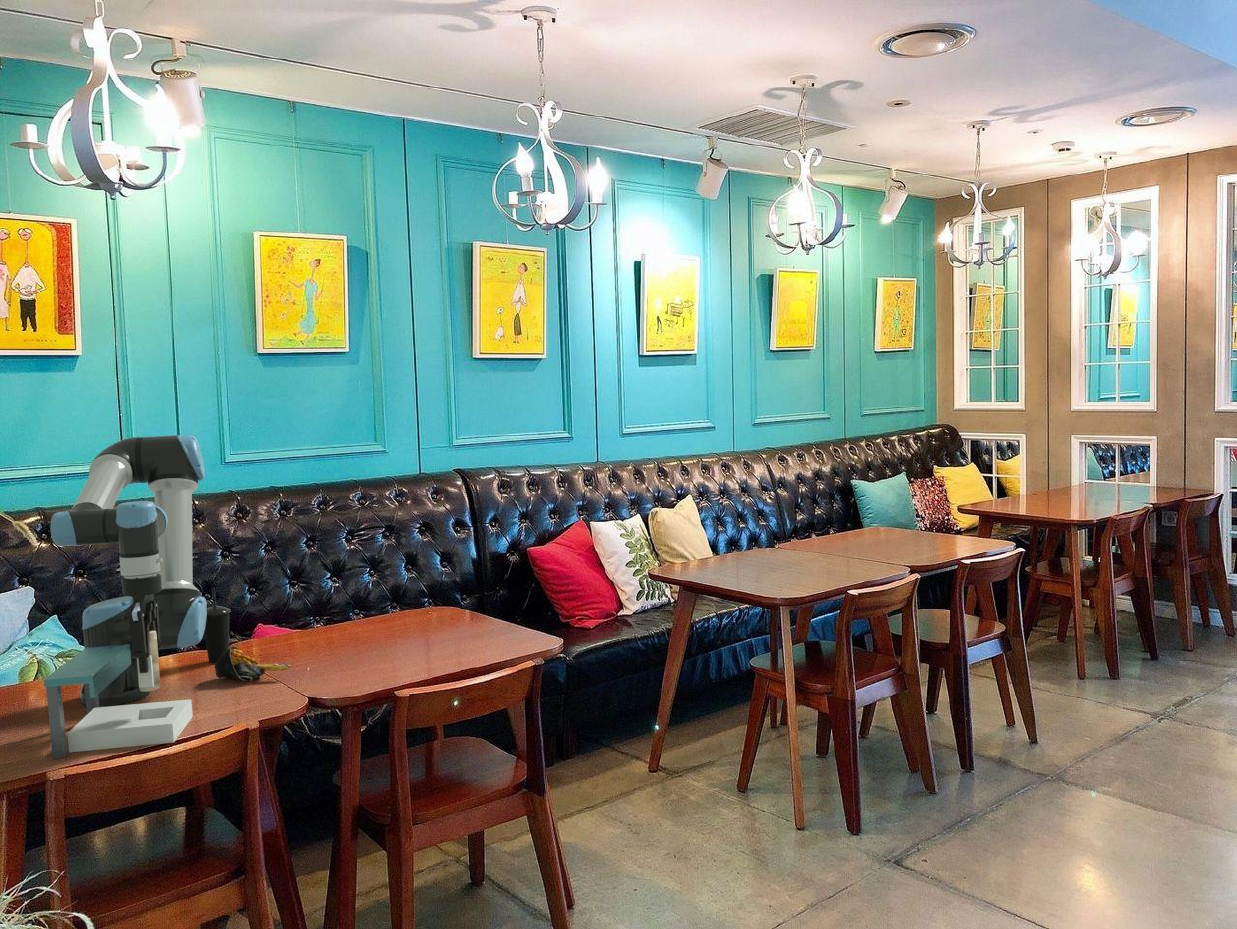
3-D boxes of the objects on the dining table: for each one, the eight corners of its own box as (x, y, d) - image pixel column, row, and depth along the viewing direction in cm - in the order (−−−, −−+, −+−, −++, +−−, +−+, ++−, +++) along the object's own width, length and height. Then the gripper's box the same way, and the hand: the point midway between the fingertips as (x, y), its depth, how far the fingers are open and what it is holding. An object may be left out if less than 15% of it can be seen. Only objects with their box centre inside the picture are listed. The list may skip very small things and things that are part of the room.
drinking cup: (197, 665, 260) (191, 590, 258) (213, 657, 268) (208, 584, 266) (223, 665, 259) (218, 590, 257) (239, 657, 266) (234, 584, 265)
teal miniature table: (92, 720, 219) (86, 647, 217) (135, 716, 220) (129, 644, 219) (50, 760, 195) (43, 679, 194) (99, 756, 197) (92, 675, 196)
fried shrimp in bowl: (219, 655, 252) (286, 629, 253) (230, 697, 248) (298, 670, 250) (203, 652, 243) (273, 624, 244) (215, 694, 240) (285, 666, 241)
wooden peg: (143, 686, 211) (138, 631, 210) (162, 684, 211) (158, 630, 210) (137, 692, 207) (132, 636, 206) (157, 690, 207) (153, 634, 206)
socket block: (95, 725, 215) (94, 707, 215) (192, 716, 219) (191, 699, 219) (69, 752, 200) (67, 733, 199) (173, 742, 203) (172, 723, 203)
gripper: (148, 581, 199) (157, 694, 201) (170, 566, 216) (178, 671, 218) (108, 584, 198) (118, 697, 200) (134, 569, 215) (142, 674, 217)
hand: (149, 683), depth 209 cm, fingers closed on wooden peg, 4 cm apart
